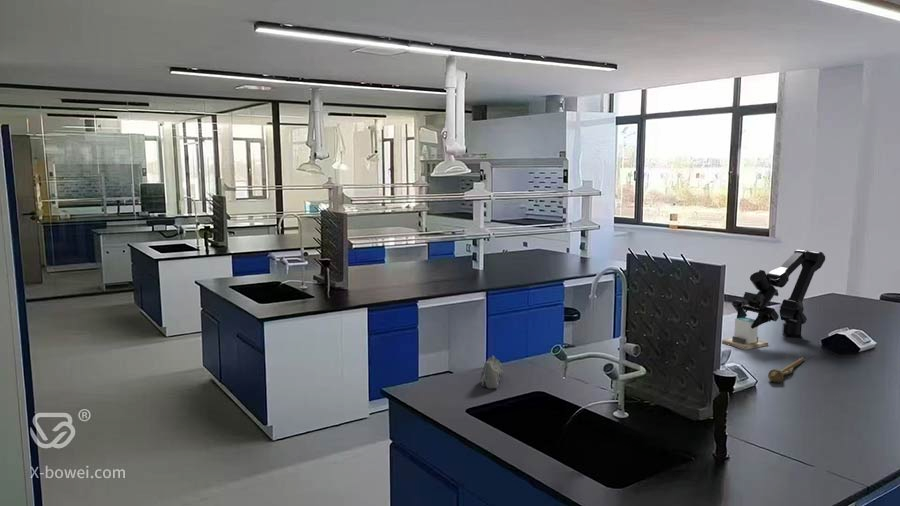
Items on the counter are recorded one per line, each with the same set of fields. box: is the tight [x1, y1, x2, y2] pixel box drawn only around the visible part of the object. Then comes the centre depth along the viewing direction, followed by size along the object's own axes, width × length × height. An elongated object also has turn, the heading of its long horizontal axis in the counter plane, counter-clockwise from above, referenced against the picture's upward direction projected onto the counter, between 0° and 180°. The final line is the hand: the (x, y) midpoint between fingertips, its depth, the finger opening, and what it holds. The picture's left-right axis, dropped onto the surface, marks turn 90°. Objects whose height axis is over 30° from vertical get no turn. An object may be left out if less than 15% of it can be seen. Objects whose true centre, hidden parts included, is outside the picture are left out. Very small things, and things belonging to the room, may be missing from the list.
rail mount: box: [721, 335, 769, 351], centre depth 251 cm, size 14×11×3 cm
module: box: [733, 316, 759, 344], centre depth 250 cm, size 5×7×9 cm
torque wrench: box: [767, 357, 805, 384], centre depth 217 cm, size 5×35×5 cm
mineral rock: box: [480, 355, 504, 389], centre depth 207 cm, size 13×11×10 cm
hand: (744, 325), depth 250 cm, fingers closed on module, 7 cm apart
